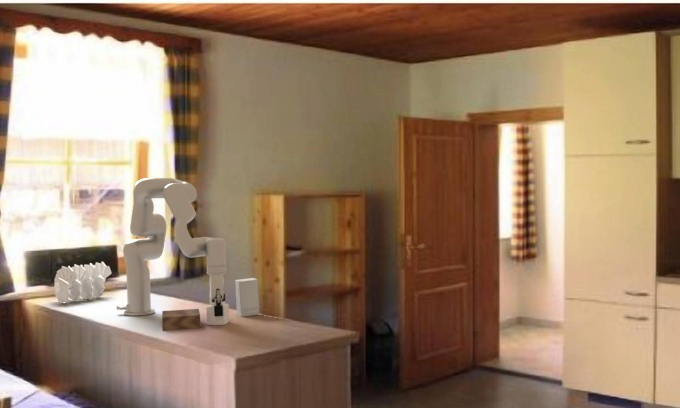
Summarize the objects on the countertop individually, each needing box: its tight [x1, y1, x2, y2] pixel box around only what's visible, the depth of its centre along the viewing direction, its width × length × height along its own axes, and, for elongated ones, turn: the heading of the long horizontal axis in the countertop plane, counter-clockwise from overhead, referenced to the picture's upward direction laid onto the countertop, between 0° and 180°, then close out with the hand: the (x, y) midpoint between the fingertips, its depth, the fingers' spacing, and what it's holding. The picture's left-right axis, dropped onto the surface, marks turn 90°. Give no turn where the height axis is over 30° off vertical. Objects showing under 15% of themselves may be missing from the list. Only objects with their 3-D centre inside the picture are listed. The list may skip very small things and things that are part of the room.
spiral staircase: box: [53, 261, 112, 303], centre depth 350 cm, size 18×18×25 cm
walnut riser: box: [161, 308, 201, 332], centre depth 282 cm, size 14×14×5 cm
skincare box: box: [234, 277, 260, 318], centre depth 301 cm, size 8×6×15 cm
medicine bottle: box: [206, 293, 230, 326], centre depth 285 cm, size 7×7×12 cm
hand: (217, 314), depth 285 cm, fingers closed on medicine bottle, 8 cm apart
